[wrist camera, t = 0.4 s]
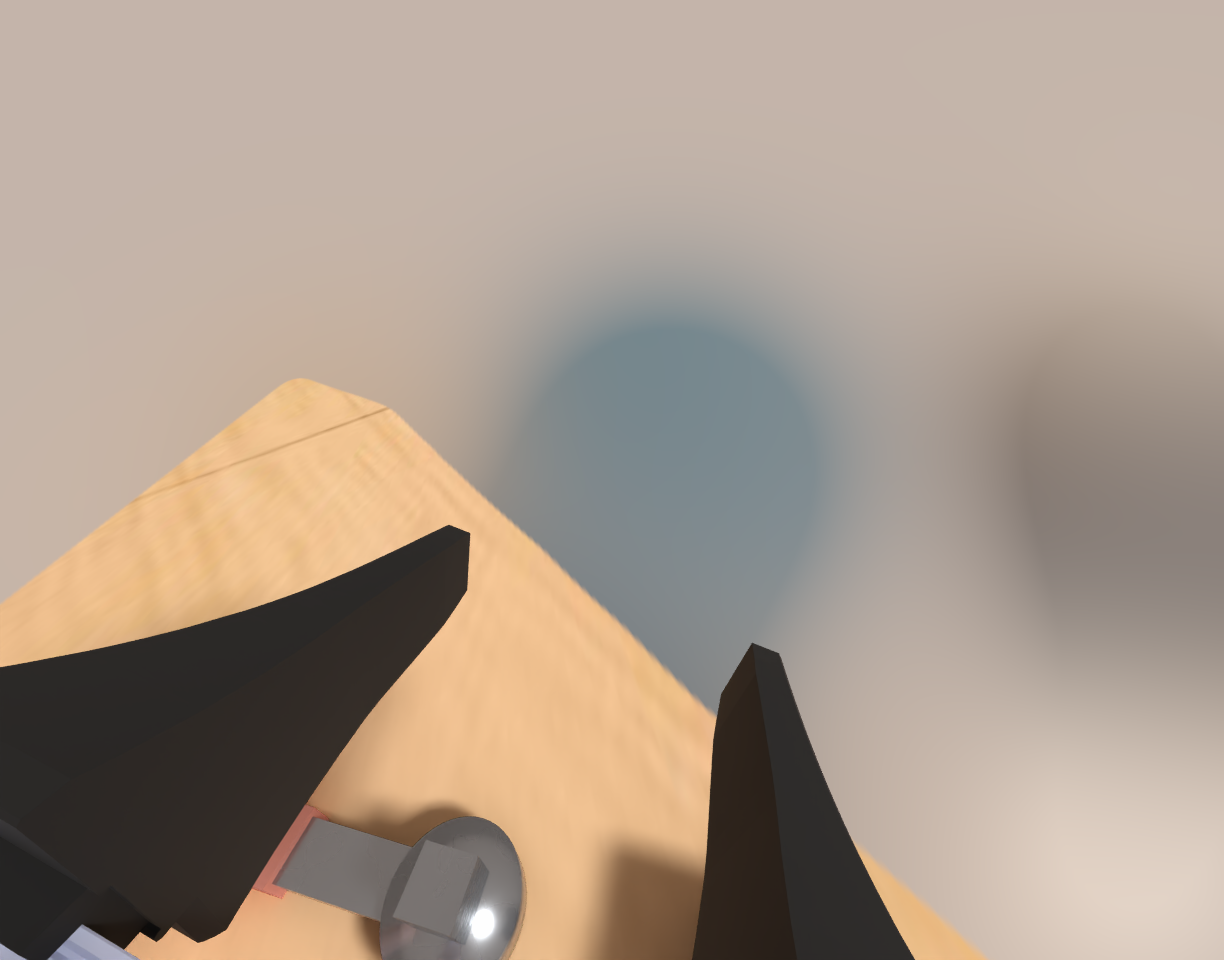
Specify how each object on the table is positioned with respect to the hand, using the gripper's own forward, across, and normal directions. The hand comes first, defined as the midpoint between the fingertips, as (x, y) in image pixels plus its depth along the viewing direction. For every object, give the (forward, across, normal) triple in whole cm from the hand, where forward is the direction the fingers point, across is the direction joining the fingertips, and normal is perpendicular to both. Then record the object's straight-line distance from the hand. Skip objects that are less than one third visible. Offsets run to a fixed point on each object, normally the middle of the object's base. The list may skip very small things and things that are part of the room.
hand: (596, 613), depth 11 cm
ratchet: (-2, +8, +22) cm, 23 cm away
